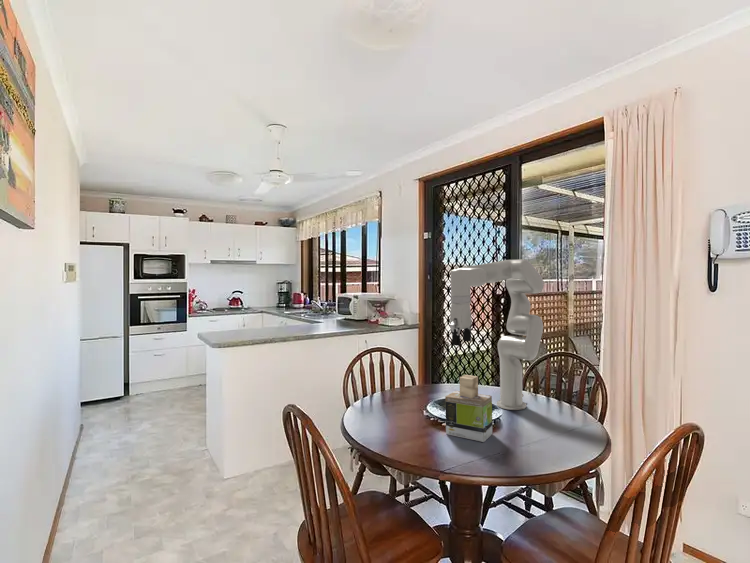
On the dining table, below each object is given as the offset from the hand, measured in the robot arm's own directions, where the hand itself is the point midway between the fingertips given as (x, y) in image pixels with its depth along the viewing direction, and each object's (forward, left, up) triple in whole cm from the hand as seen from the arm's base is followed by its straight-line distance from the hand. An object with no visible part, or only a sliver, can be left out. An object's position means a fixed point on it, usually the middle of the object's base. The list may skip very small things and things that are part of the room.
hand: (461, 343), depth 168 cm
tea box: (+7, +6, -33) cm, 34 cm away
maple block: (+7, +6, -18) cm, 20 cm away
